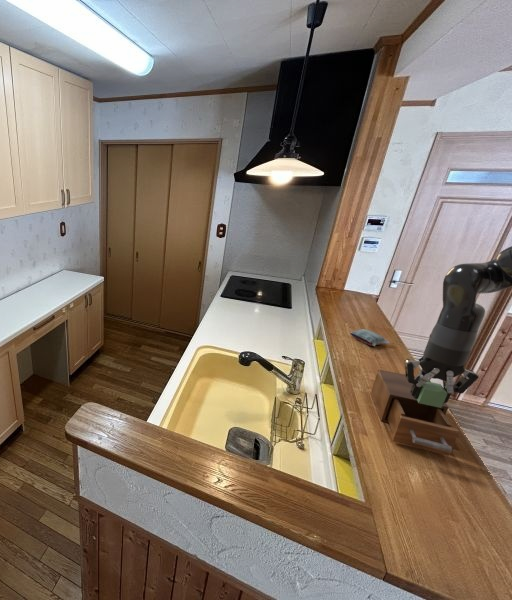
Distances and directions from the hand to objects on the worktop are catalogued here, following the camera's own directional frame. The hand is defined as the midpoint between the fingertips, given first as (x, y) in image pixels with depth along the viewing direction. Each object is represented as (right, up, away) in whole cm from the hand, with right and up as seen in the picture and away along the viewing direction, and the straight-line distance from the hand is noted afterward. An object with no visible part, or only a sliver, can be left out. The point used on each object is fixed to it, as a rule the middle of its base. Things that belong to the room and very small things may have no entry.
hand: (427, 399), depth 85 cm
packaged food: (+30, +8, +57) cm, 65 cm away
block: (0, 0, 0) cm, 0 cm away
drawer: (0, -12, +3) cm, 12 cm away
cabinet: (+6, -8, +14) cm, 17 cm away
